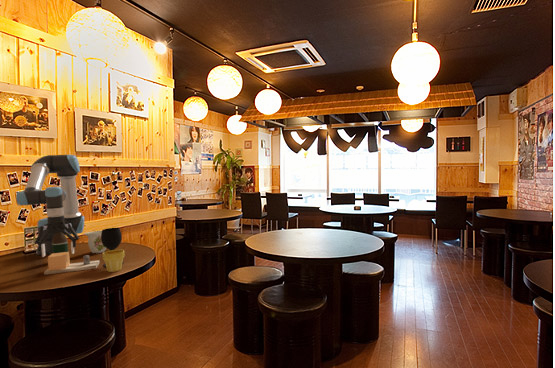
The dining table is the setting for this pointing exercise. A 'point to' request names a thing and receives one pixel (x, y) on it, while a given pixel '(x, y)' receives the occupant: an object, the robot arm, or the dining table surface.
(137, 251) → the dining table surface
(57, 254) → the tan block
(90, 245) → the pitcher
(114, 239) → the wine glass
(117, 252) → the plant pot
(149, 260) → the dining table surface
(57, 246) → the beer bottle
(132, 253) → the dining table surface
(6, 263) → the dining table surface
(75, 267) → the post board
